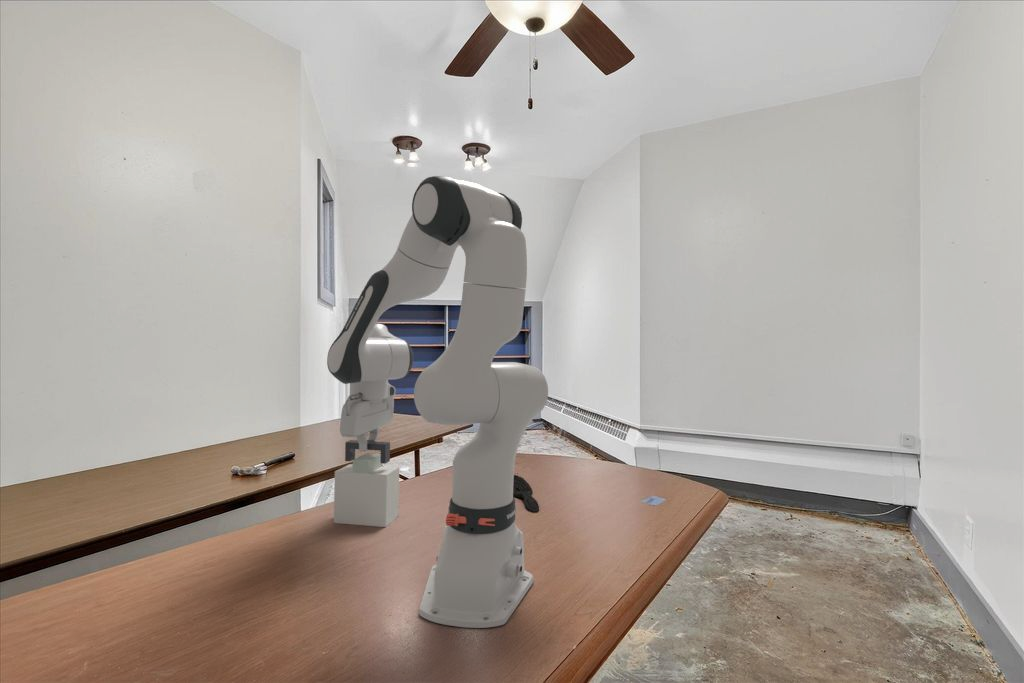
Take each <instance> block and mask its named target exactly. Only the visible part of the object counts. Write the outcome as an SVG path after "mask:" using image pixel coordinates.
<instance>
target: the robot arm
mask: <svg viewBox="0 0 1024 683" xmlns="http://www.w3.org/2000/svg"><path fill="white" fill-rule="evenodd" d="M520 208H521V207H520V206H519V205H518V204H517V202H516V201H515V200H513V199H512V198H511V197H509V196H508V195H506V194H505V193H501V192H496V191H494V190H492V189H489V188H487V187H484V186H482V185H480V184H479V183H475V182H471V181H467V180H462V179H454V178H452V177H451V176H445V175H434V176H429V177H426V178H425V179H424V180H421V182H420V183H419V185H418V187H417V188H416V190H415V192H414V194H413V197H412V202H411V212H412V214H411V216H410V218H409V220H408V222H407V224H406V226H405V228H404V230H403V232H402V235H401V237H400V240H399V243H398V246H397V247H396V248H397V249H396V250H395V253H394V254H393V255H392V257H391V259H390V260H389V261H388V263H387V264H386V265H385V266H384V267H383V268H381V269H380V270H379V271H376V272H374V273H373V274H372V275H371V276H370V277H369V279H368V281H367V282H366V284H365V286H364V288H363V290H361V293H360V295H359V297H358V299H357V301H356V302H355V304H354V306H353V308H352V311H351V312H350V315H349V316H348V318H347V320H346V322H345V325H344V326H343V328H342V330H341V331H340V333H339V335H338V336H336V339H335V340H334V341H333V342H332V344H331V345H330V347H329V349H328V352H327V358H326V359H327V361H326V365H327V369H328V371H329V373H330V374H331V375H332V376H333V377H334V378H335V379H336V380H338V381H339V382H340V383H342V384H343V385H347V384H349V394H348V397H347V400H345V403H343V405H342V408H341V415H340V424H339V425H340V426H339V432H340V435H341V437H343V438H344V437H347V438H356V440H357V441H358V443H359V449H358V451H360V452H366V451H369V450H368V449H369V443H367V441H376V442H378V441H377V439H378V437H379V434H380V428H382V427H385V426H387V425H390V424H391V423H392V422H393V419H394V411H395V410H394V408H395V399H394V397H395V396H396V387H395V386H393V385H392V384H390V382H389V380H399V379H404V378H405V377H407V376H408V374H409V373H410V372H411V369H412V368H413V365H414V352H413V349H412V346H410V343H408V341H406V340H405V339H403V338H399V337H398V336H395V335H394V334H392V333H390V332H389V330H388V327H387V325H385V324H383V323H378V322H379V319H380V317H381V316H382V315H383V314H384V313H385V312H386V311H388V309H391V308H393V307H395V306H397V305H400V304H404V303H407V302H410V301H415V300H420V299H423V298H426V297H428V296H430V295H432V294H435V292H437V291H438V290H439V288H440V287H441V286H442V284H443V283H444V281H445V280H446V277H447V274H448V272H449V270H450V266H451V264H452V261H453V260H454V259H453V258H454V256H455V252H456V250H457V248H458V247H459V246H460V247H461V249H462V250H463V252H464V256H465V266H464V274H463V283H462V284H463V285H462V293H461V294H462V295H461V302H460V303H461V304H460V310H459V317H458V321H457V326H456V329H455V331H454V334H453V337H452V339H451V340H450V342H449V344H448V345H447V347H446V348H445V349H444V351H443V352H442V354H441V355H440V356H439V357H438V358H437V359H436V360H434V361H433V362H432V363H430V364H429V365H428V366H426V368H424V369H423V370H422V371H421V373H420V374H419V375H418V378H417V379H416V382H415V385H414V387H413V388H414V390H413V401H414V405H415V408H416V410H417V412H418V414H420V416H421V418H422V419H424V420H425V421H426V422H428V423H431V424H437V425H438V424H439V425H447V426H462V425H472V424H473V425H475V424H479V426H478V429H477V432H476V433H475V434H474V436H473V438H471V439H470V441H469V442H467V443H465V444H464V445H463V446H461V447H460V448H459V449H458V450H457V451H456V453H455V455H454V457H453V459H452V477H451V478H452V480H451V481H452V482H451V483H452V485H451V488H452V489H451V493H452V494H451V498H450V500H449V505H448V510H447V514H446V517H445V524H446V525H444V526H443V530H444V531H443V536H442V540H441V544H440V549H439V552H438V554H437V556H436V564H434V565H432V567H431V569H430V572H429V575H428V577H427V578H428V579H427V582H426V585H425V587H424V592H423V595H422V597H421V601H420V604H419V608H418V615H419V616H420V617H422V619H423V618H424V619H425V620H427V621H429V622H433V623H436V624H440V625H445V626H452V627H458V628H459V627H460V628H469V629H470V628H471V629H472V628H473V629H474V628H475V629H485V628H495V627H499V626H503V625H505V624H506V623H507V622H508V621H509V620H510V618H511V616H512V614H513V613H514V611H515V610H516V609H517V607H518V606H519V604H520V603H521V601H522V599H523V598H524V597H525V595H526V594H527V593H528V592H529V590H530V588H531V587H532V585H533V583H534V575H533V574H532V573H530V572H529V571H527V570H525V555H524V552H525V550H524V546H525V545H524V533H523V532H522V531H521V529H520V528H519V527H518V526H517V525H516V523H515V520H516V513H517V506H516V499H515V497H513V480H514V475H515V465H516V464H515V462H516V456H517V453H518V449H519V446H520V442H521V440H522V438H523V435H524V434H525V431H526V430H527V428H528V426H529V425H530V424H531V423H532V421H533V420H534V419H535V418H536V417H537V416H538V415H539V414H540V413H541V412H542V411H543V409H544V408H545V407H546V405H547V401H548V397H549V386H548V381H547V379H546V377H545V375H544V373H543V372H542V371H541V369H540V368H539V367H537V366H534V365H530V364H526V363H521V362H516V361H499V362H498V361H493V360H494V358H495V357H496V356H495V355H496V354H497V353H498V352H499V351H500V349H501V348H502V347H503V346H504V345H505V344H508V343H510V342H511V341H512V340H514V339H516V337H518V335H519V333H520V332H521V330H522V325H523V317H524V308H525V298H526V290H527V289H526V288H527V280H528V279H527V274H528V266H527V265H528V255H527V253H528V252H527V240H526V237H525V235H524V233H523V231H522V230H521V229H522V225H523V217H522V211H521V209H520ZM368 435H369V436H368ZM367 437H368V439H367Z"/></svg>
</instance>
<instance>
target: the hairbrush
mask: <svg viewBox="0 0 1024 683" xmlns="http://www.w3.org/2000/svg"><path fill="white" fill-rule="evenodd" d="M518 474H519V473H518V472H517V473H516V474H514V480H513V497H514V498H523V501H524V506H525V508H526V510H527V511H528V512H529V511H530V513H535V514H536V513H539V511H540V505H539V502H538V500H536V499H535V497H533V496H532V495H533V489H532V486H530V484H529V483H528V481H527V480H526V479H524V477H522V475H518Z"/></svg>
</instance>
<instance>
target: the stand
mask: <svg viewBox="0 0 1024 683" xmlns="http://www.w3.org/2000/svg"><path fill="white" fill-rule="evenodd" d="M380 460H381V453H373V452H367V453H364V454H362V455H360V456H358V457H355V459H353V460H352V463H349V464H347V465H346V466H343V467H342V468H338V469H337V470H335V471H334V489H333V490H334V491H333V492H334V496H333V505H334V506H333V524H341V525H342V524H344V525H355V526H365V527H366V526H367V527H368V526H369V527H377V528H378V527H380V528H387V527H389V525H390V524H392V523H393V522H394V521H395V520H396V519H397V518H398V517H399V510H400V509H399V507H400V506H399V502H400V500H399V498H400V467H399V466H387V465H386V466H385V465H384V466H383V463H380Z"/></svg>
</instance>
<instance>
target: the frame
mask: <svg viewBox="0 0 1024 683" xmlns="http://www.w3.org/2000/svg"><path fill="white" fill-rule="evenodd" d="M367 443H369V449H368V450H367V451H380V454H381V460H380V463H382V465H383V464H384V465H385V464H387V463H388V462H390V461H391V458H390V457H391V442H390V441H389V442H388V441H377V442H376V441H367ZM344 445H345V448H344V450H345V451H344V453H345V454H344V455H345V456H344V457H345V458H344V461H345V462H353V459H355V458H356V450H359V443H358V440H357V439H356V440H354V439H351V440H347V441H345V444H344Z"/></svg>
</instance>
